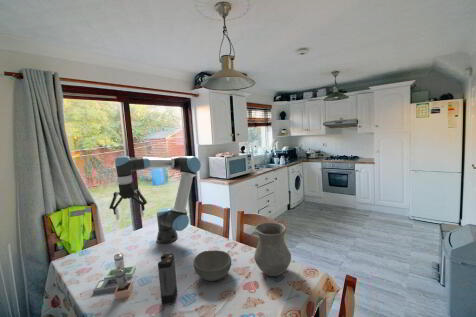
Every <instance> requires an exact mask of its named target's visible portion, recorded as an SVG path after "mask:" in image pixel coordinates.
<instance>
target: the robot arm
mask: <svg viewBox="0 0 476 317" xmlns="http://www.w3.org/2000/svg"><path fill="white" fill-rule="evenodd" d="M201 165H202V164H201V161H200V159H199V158H198V157H197V156H193V155H190V156H189V155H186V156H185V155H180V156H169V157H165V158H163V157H147V156H141V157H135V156H134V157H133V156H131V157H130V156H129V155H128V156H127V155H126V156H124V155H122V156H117V157H115V159H114V166H115V170H116V177H117V178H116V179H117V184H118V191H115V192H113V197H112V200H111V203H110V205H109V210H113V215H114V216H115V219H116V221H119V220H120V213H119V208H118V206H119V205H120V203H121V202H122V201H123V200H126V199H127V200H128V199H133V200H135V202H137V203H138V204H139V205H140V206H139V208H140V209H139V210H140V215H141V216H140V217H144V214H145V213H144V211H145V205H147V203H148V201H147V200H146V198H145V197H144V196H143V194H142V192H141V190H140V188H138V189H136V190H135V189H134V184H133V174H132V172H135V171H141V170H146V169H168V170H173V171H179V173H180V178H179V185H178V189H177V193H176V197H175V201H174V207H167V208H162V209H160V210H158V211H157V212H156V219H157V229H158V231H157V236H156V242H157V243H158V244H163V245H164V244H170V243H173V242H175V241H176V240H178V238H179V236H178V232H182V231H184V230H185V229H187V227H188V225H189V223H190V218H189V216H188V211H187V206H188V202H189V198H190V192H191V188H192V184H193V178H194V177H195V176H196V174H197V173H198V172H199V171H200V170H201ZM135 193H136V195H137V196H136V195H135ZM118 196H120V198H119V199H118V200H117V197H118ZM139 198H140V199H139ZM115 202H116V203H115Z"/></svg>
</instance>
